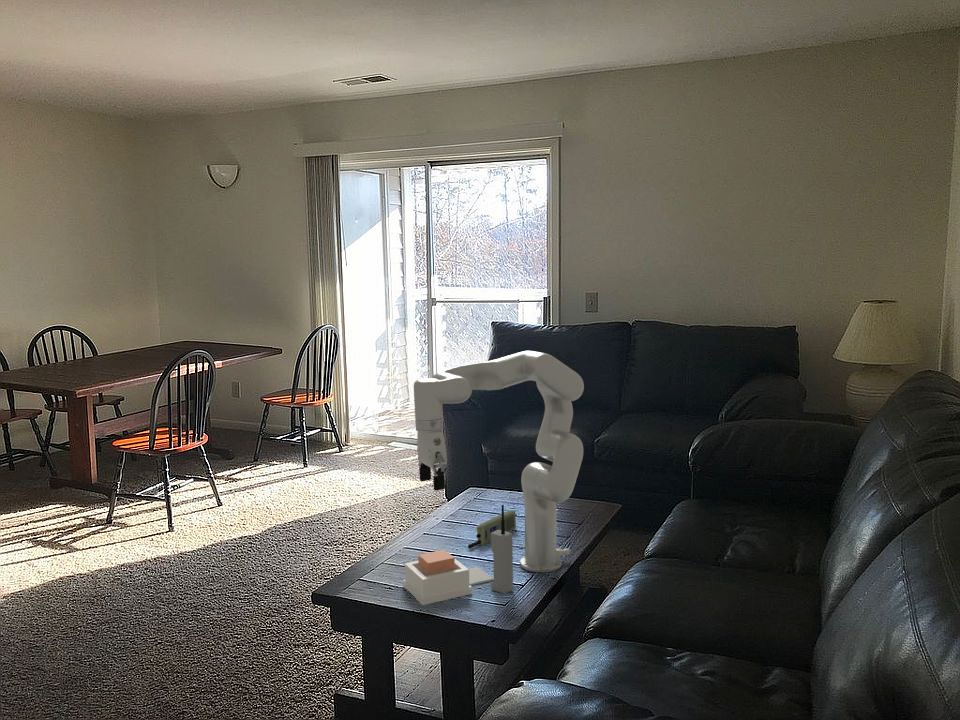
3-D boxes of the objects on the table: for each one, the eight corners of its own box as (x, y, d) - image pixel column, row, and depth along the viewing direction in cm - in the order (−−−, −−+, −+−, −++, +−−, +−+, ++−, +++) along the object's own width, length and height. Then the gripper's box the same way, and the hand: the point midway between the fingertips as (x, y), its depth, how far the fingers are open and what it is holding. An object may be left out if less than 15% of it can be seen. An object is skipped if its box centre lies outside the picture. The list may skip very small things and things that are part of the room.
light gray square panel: (477, 568, 242) (477, 566, 242) (493, 580, 233) (493, 578, 233) (447, 575, 237) (447, 573, 237) (462, 587, 228) (462, 585, 228)
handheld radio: (517, 529, 275) (473, 551, 256) (509, 528, 277) (465, 550, 258) (516, 510, 275) (472, 531, 255) (508, 509, 277) (464, 529, 257)
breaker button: (444, 559, 231) (443, 549, 230) (454, 567, 225) (454, 557, 224) (418, 565, 227) (418, 554, 227) (428, 573, 221) (428, 563, 221)
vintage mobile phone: (499, 585, 229) (498, 501, 226) (513, 590, 226) (512, 504, 223) (491, 590, 226) (489, 504, 223) (505, 594, 223) (504, 507, 220)
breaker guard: (450, 576, 236) (449, 553, 235) (471, 593, 224) (471, 569, 223) (403, 586, 230) (402, 563, 229) (422, 605, 217) (421, 580, 216)
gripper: (455, 428, 211) (458, 490, 214) (429, 416, 227) (432, 475, 229) (429, 432, 208) (432, 495, 211) (404, 420, 223) (408, 479, 226)
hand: (432, 484), depth 220 cm, fingers open, 9 cm apart
